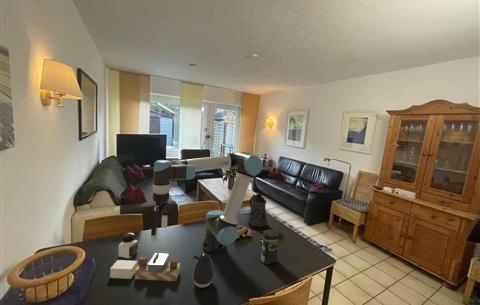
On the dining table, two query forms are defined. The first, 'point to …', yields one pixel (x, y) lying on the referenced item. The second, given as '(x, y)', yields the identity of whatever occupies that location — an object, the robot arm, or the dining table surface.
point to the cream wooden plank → (168, 274)
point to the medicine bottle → (128, 246)
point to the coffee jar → (269, 246)
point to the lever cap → (158, 262)
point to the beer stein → (257, 212)
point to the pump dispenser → (203, 271)
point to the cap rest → (123, 269)
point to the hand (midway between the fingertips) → (159, 233)
